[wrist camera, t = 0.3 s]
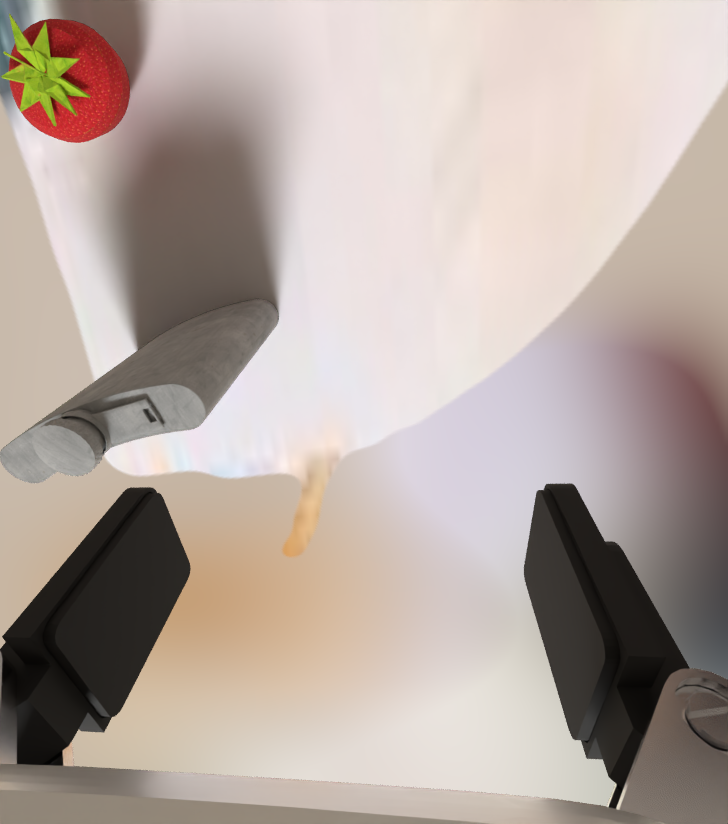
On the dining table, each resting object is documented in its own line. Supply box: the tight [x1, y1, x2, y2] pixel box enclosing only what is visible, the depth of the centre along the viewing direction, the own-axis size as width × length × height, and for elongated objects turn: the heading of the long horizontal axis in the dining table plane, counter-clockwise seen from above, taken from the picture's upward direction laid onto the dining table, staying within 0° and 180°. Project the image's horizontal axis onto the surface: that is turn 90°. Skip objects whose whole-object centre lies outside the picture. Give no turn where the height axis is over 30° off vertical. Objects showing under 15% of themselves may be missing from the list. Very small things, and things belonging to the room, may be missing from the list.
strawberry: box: [1, 14, 130, 143], centre depth 28 cm, size 6×8×10 cm
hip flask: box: [0, 299, 279, 483], centre depth 33 cm, size 16×4×20 cm, turn 113°
